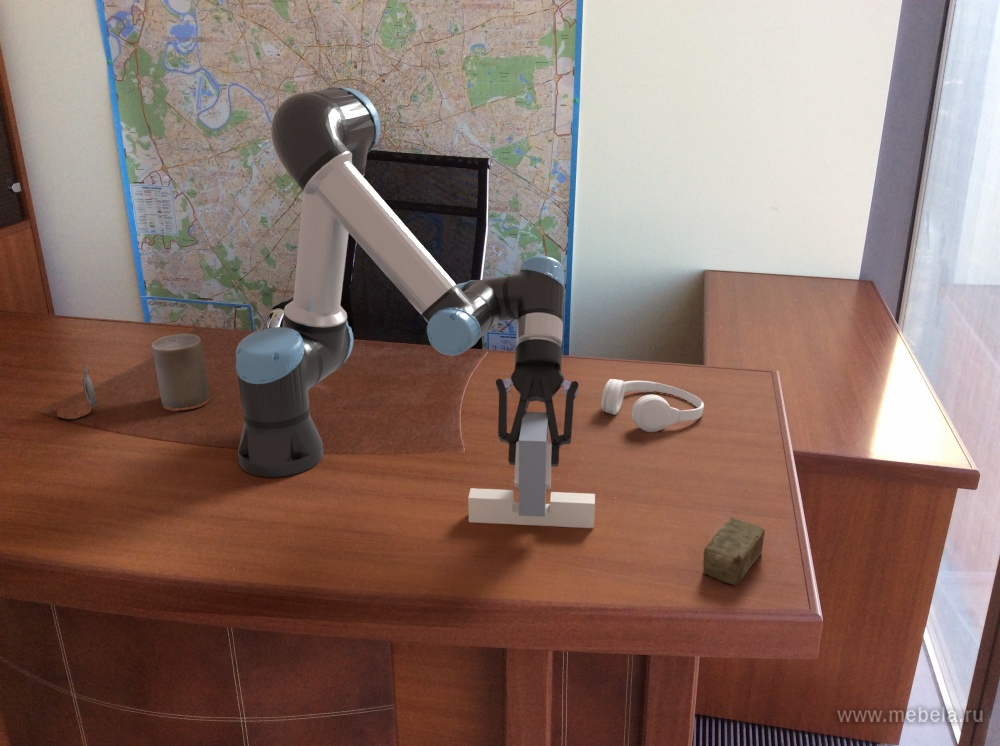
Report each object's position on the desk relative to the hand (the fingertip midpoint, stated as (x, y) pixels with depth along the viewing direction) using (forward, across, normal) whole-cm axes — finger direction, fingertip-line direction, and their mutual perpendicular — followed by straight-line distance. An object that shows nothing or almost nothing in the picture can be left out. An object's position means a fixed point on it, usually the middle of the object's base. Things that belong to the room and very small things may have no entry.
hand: (532, 485), depth 133 cm
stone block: (+10, -30, -3) cm, 32 cm away
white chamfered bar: (+3, 0, -9) cm, 9 cm away
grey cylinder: (-24, +75, -36) cm, 87 cm away
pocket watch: (-19, +94, -31) cm, 101 cm away
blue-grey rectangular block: (+1, 0, -6) cm, 6 cm away
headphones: (-27, -22, -40) cm, 52 cm away
